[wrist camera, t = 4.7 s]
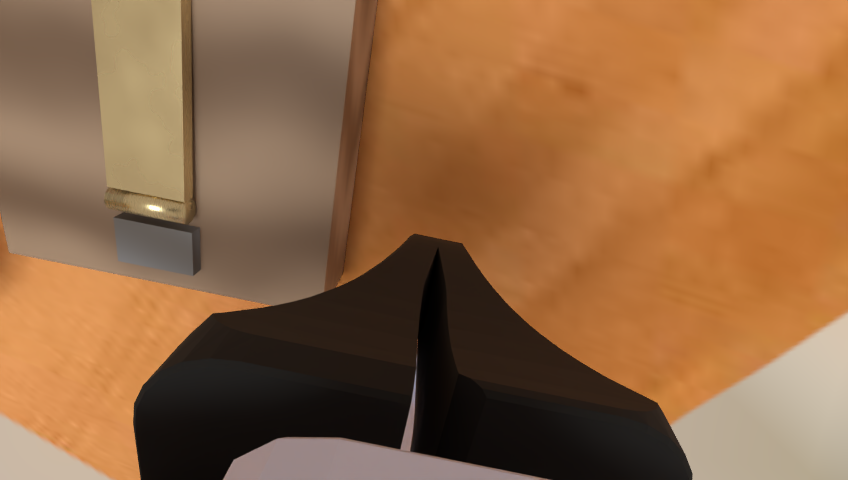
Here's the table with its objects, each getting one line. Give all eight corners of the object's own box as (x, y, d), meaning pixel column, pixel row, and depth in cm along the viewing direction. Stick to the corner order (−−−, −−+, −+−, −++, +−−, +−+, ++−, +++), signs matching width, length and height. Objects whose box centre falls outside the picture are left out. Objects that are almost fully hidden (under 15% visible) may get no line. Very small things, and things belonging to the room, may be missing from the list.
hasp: (195, 219, 18) (181, 228, 17) (123, 205, 18) (105, 212, 17) (193, -104, 14) (175, -115, 13) (99, -124, 14) (74, -136, 13)
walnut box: (342, 272, 23) (308, 339, 18) (79, 220, 23) (-33, 271, 18) (397, -159, 16) (367, -259, 11) (15, -239, 16) (-206, -379, 11)
